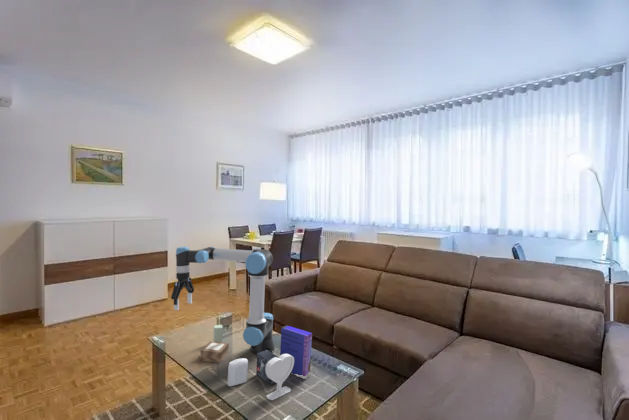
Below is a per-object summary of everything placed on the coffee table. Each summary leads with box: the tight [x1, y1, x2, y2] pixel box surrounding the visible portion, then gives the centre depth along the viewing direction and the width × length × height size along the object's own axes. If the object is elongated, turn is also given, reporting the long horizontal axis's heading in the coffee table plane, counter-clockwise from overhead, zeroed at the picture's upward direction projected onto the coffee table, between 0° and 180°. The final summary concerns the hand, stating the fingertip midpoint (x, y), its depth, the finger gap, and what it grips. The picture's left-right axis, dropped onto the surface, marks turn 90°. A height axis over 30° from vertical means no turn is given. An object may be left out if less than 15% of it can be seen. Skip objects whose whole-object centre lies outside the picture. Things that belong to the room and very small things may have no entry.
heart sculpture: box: [265, 354, 294, 401], centre depth 157 cm, size 16×5×18 cm, turn 135°
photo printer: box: [227, 357, 249, 387], centre depth 164 cm, size 10×4×12 cm, turn 123°
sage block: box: [212, 324, 224, 343], centre depth 205 cm, size 5×5×12 cm
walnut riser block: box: [200, 340, 230, 364], centre depth 190 cm, size 12×12×6 cm
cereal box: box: [279, 325, 313, 376], centre depth 176 cm, size 17×5×24 cm, turn 58°
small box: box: [255, 350, 280, 386], centre depth 170 cm, size 13×7×12 cm, turn 45°
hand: (183, 306), depth 195 cm, fingers open, 13 cm apart
